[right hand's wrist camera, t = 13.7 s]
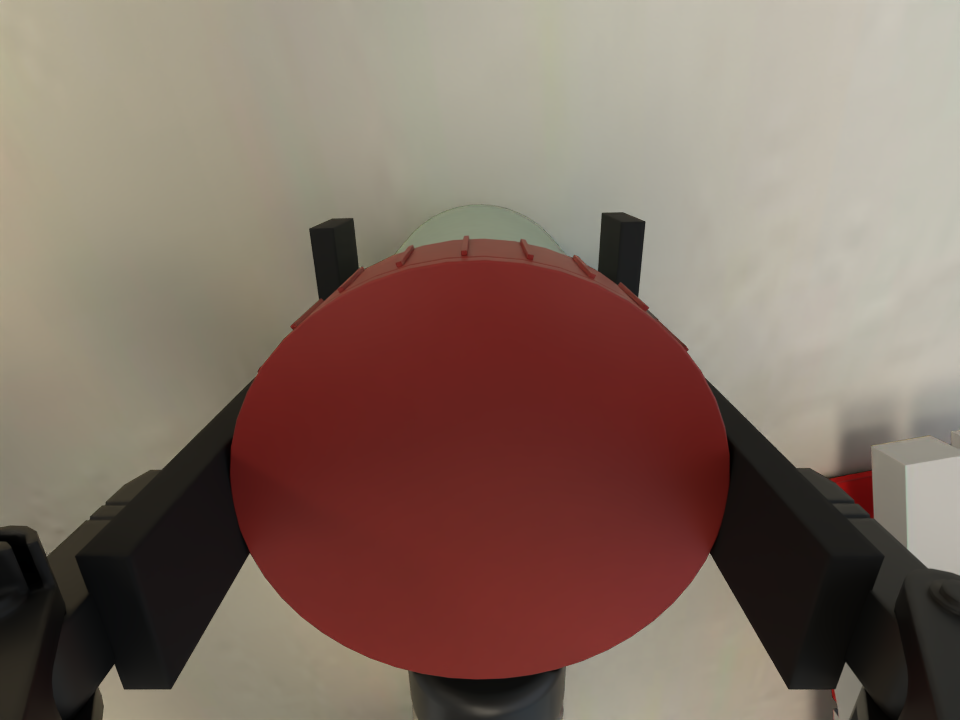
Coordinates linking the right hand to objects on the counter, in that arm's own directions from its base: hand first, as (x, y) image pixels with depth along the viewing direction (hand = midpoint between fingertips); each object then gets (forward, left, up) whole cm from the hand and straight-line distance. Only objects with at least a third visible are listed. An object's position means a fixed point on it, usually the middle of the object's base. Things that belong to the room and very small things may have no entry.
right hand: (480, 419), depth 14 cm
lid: (0, 0, +3) cm, 3 cm away
